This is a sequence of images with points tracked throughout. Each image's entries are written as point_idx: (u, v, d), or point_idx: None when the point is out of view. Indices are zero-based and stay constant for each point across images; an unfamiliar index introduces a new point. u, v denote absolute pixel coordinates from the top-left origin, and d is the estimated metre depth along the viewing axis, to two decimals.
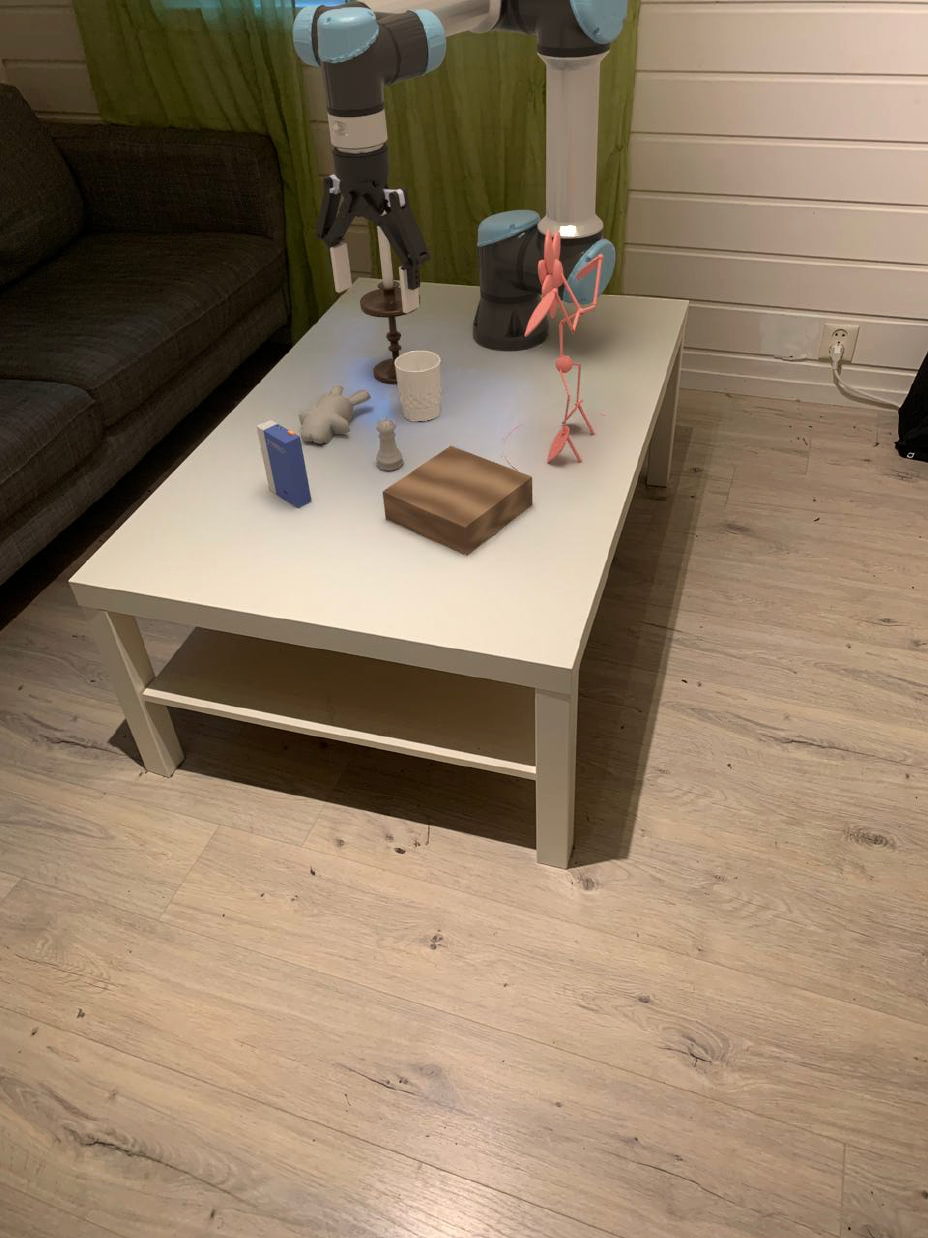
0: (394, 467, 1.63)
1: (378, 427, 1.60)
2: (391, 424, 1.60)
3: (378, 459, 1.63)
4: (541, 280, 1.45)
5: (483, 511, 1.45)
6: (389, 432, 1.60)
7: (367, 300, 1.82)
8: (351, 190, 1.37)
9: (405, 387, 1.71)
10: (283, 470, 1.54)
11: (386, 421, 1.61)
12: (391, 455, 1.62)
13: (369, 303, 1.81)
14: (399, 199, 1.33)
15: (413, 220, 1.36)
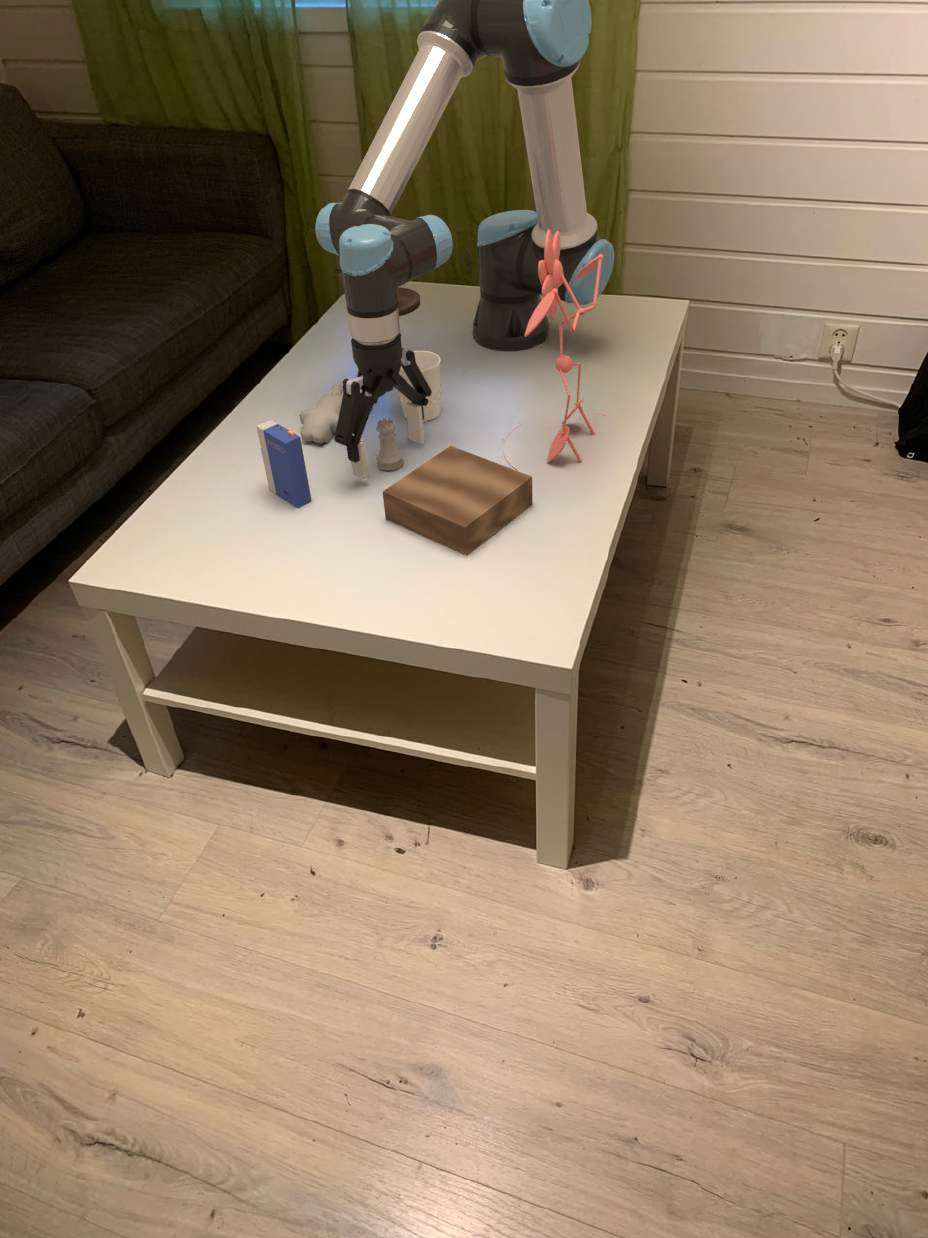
0: (394, 467, 1.63)
1: (378, 427, 1.60)
2: (391, 424, 1.60)
3: (378, 459, 1.63)
4: (541, 280, 1.45)
5: (483, 511, 1.45)
6: (389, 431, 1.60)
7: None
8: None
9: None
10: (283, 470, 1.54)
11: (386, 421, 1.61)
12: (391, 455, 1.62)
13: None
14: (345, 387, 1.51)
15: (349, 410, 1.51)
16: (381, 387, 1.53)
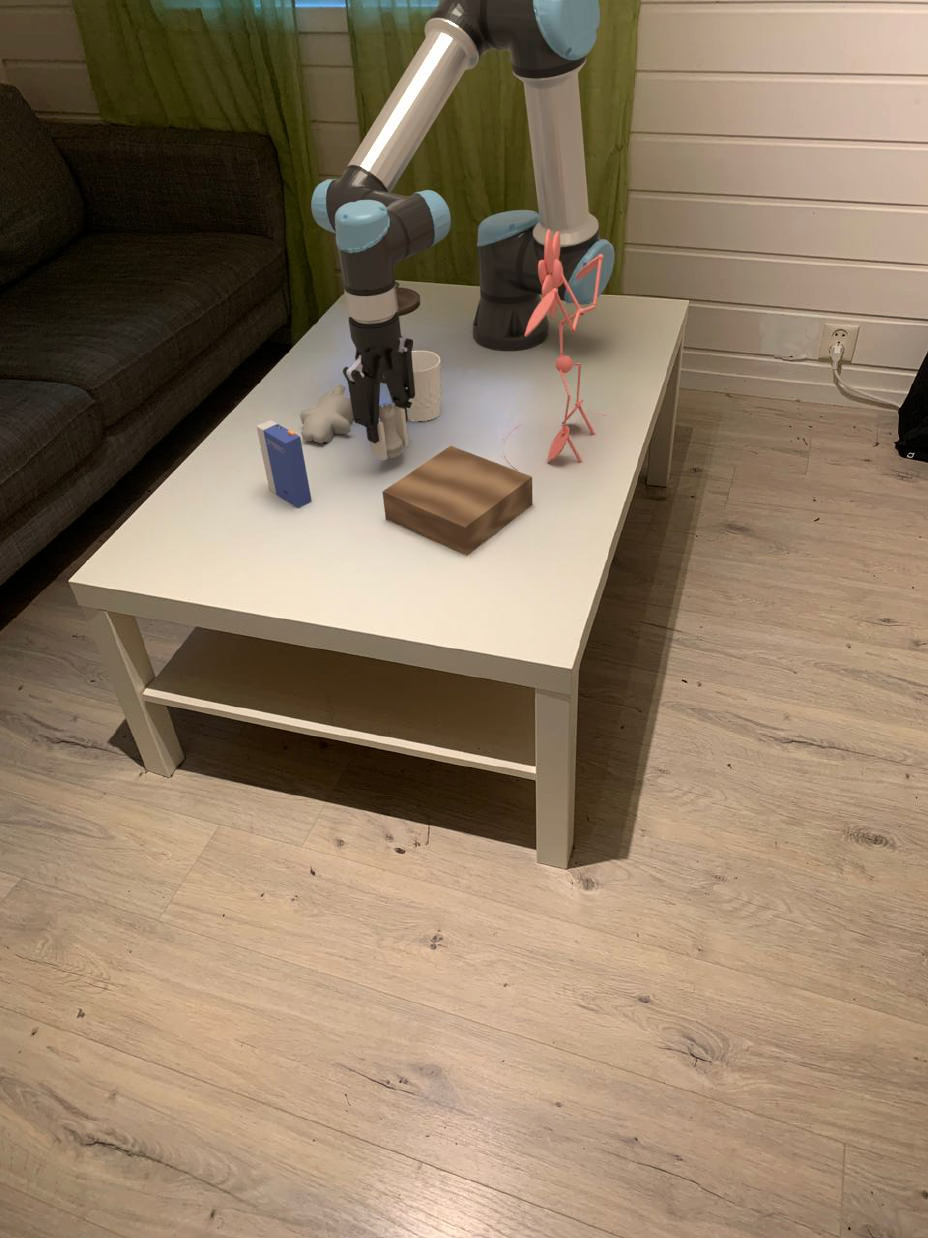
0: (394, 453, 1.62)
1: None
2: (391, 410, 1.58)
3: None
4: (541, 280, 1.45)
5: (483, 511, 1.45)
6: (389, 417, 1.58)
7: None
8: None
9: None
10: (283, 470, 1.54)
11: (386, 407, 1.59)
12: (391, 441, 1.61)
13: None
14: (347, 376, 1.50)
15: (358, 396, 1.52)
16: (382, 366, 1.52)
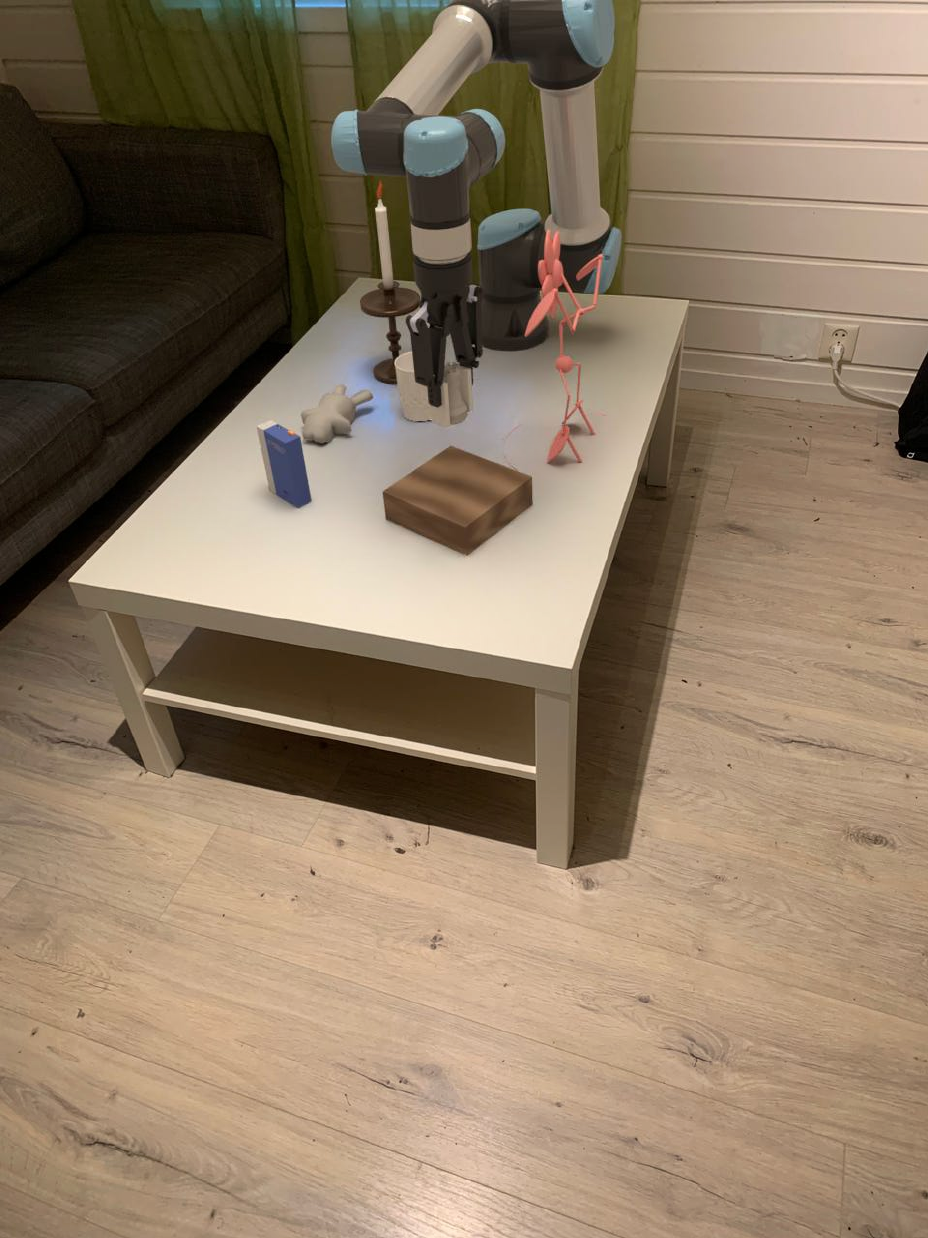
0: (458, 420, 1.41)
1: None
2: (456, 369, 1.38)
3: None
4: (541, 280, 1.45)
5: (483, 511, 1.45)
6: (454, 377, 1.38)
7: (367, 300, 1.82)
8: None
9: (405, 387, 1.71)
10: (283, 470, 1.54)
11: (450, 366, 1.39)
12: (454, 405, 1.41)
13: (369, 303, 1.81)
14: (410, 326, 1.30)
15: (422, 350, 1.31)
16: (450, 316, 1.31)
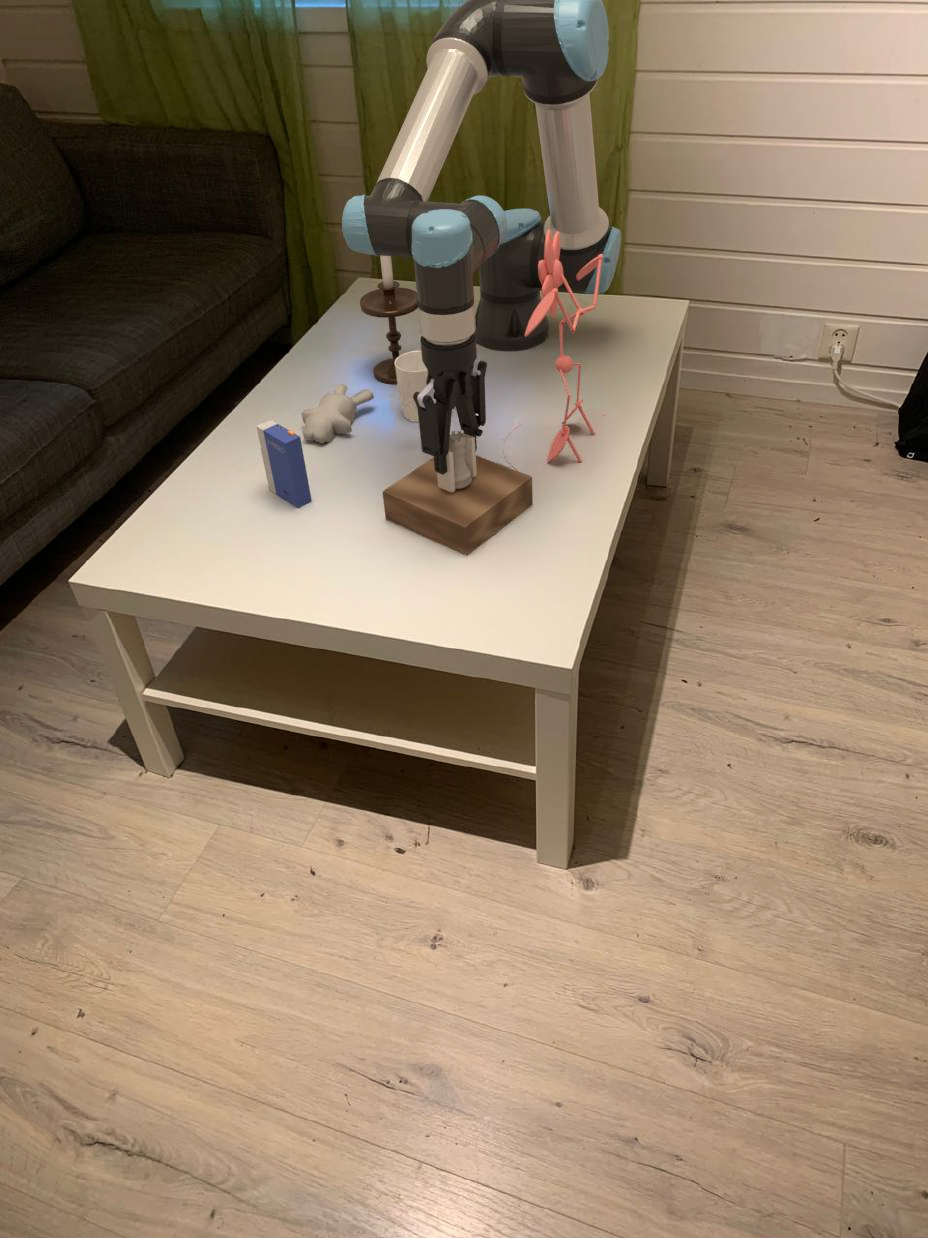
0: (462, 485, 1.49)
1: None
2: (461, 438, 1.45)
3: None
4: (541, 280, 1.45)
5: (483, 511, 1.45)
6: (459, 446, 1.45)
7: (367, 300, 1.82)
8: None
9: (405, 387, 1.71)
10: (283, 470, 1.54)
11: (455, 435, 1.46)
12: (459, 471, 1.48)
13: (369, 303, 1.81)
14: (418, 402, 1.37)
15: (429, 423, 1.38)
16: (455, 391, 1.38)
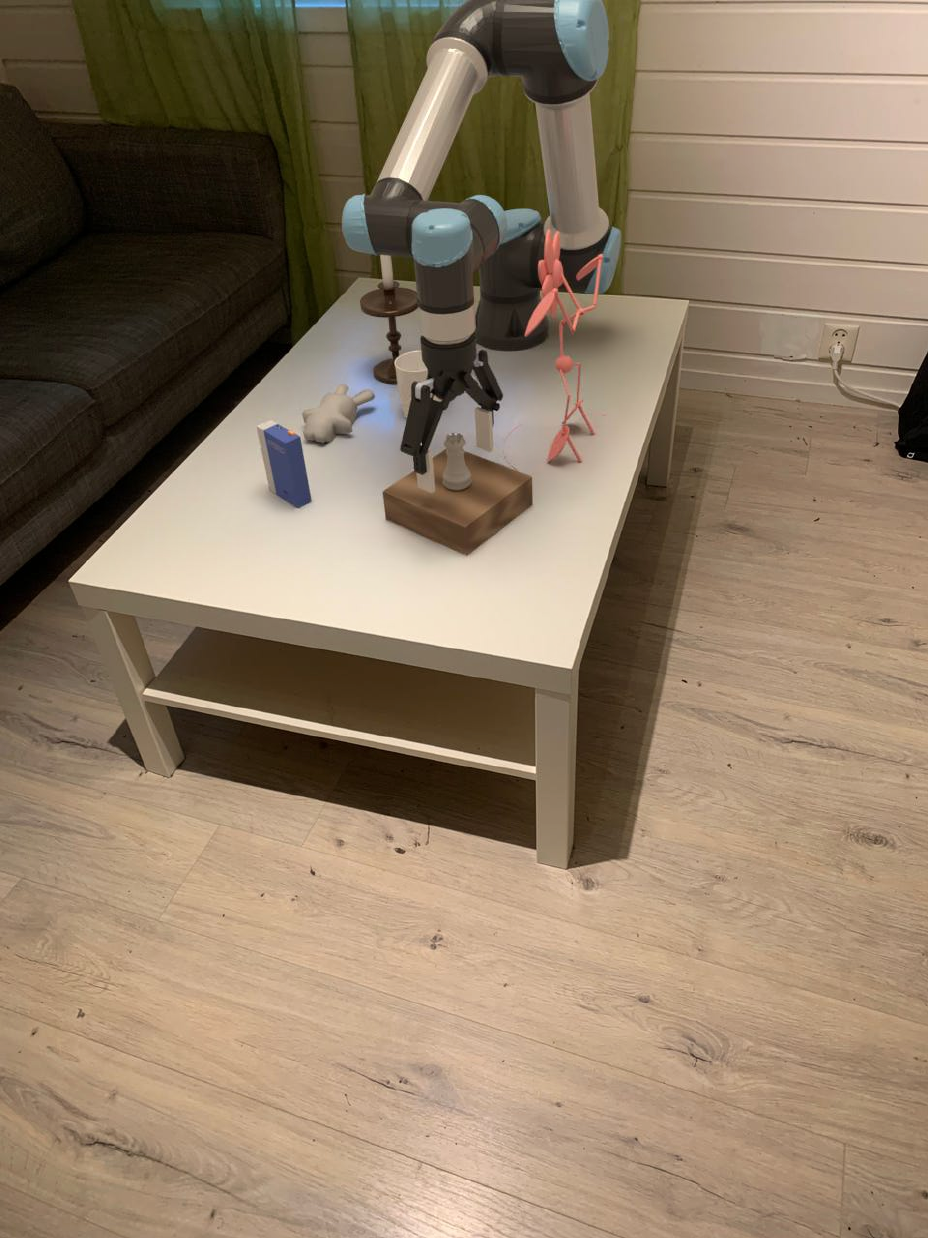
0: (462, 487, 1.49)
1: (446, 443, 1.45)
2: (461, 440, 1.45)
3: (445, 478, 1.49)
4: (541, 280, 1.45)
5: (483, 511, 1.45)
6: (458, 448, 1.45)
7: (367, 300, 1.82)
8: None
9: (405, 387, 1.71)
10: (283, 470, 1.54)
11: (455, 436, 1.46)
12: (459, 473, 1.48)
13: (369, 303, 1.81)
14: (414, 391, 1.35)
15: (418, 416, 1.36)
16: (452, 391, 1.38)
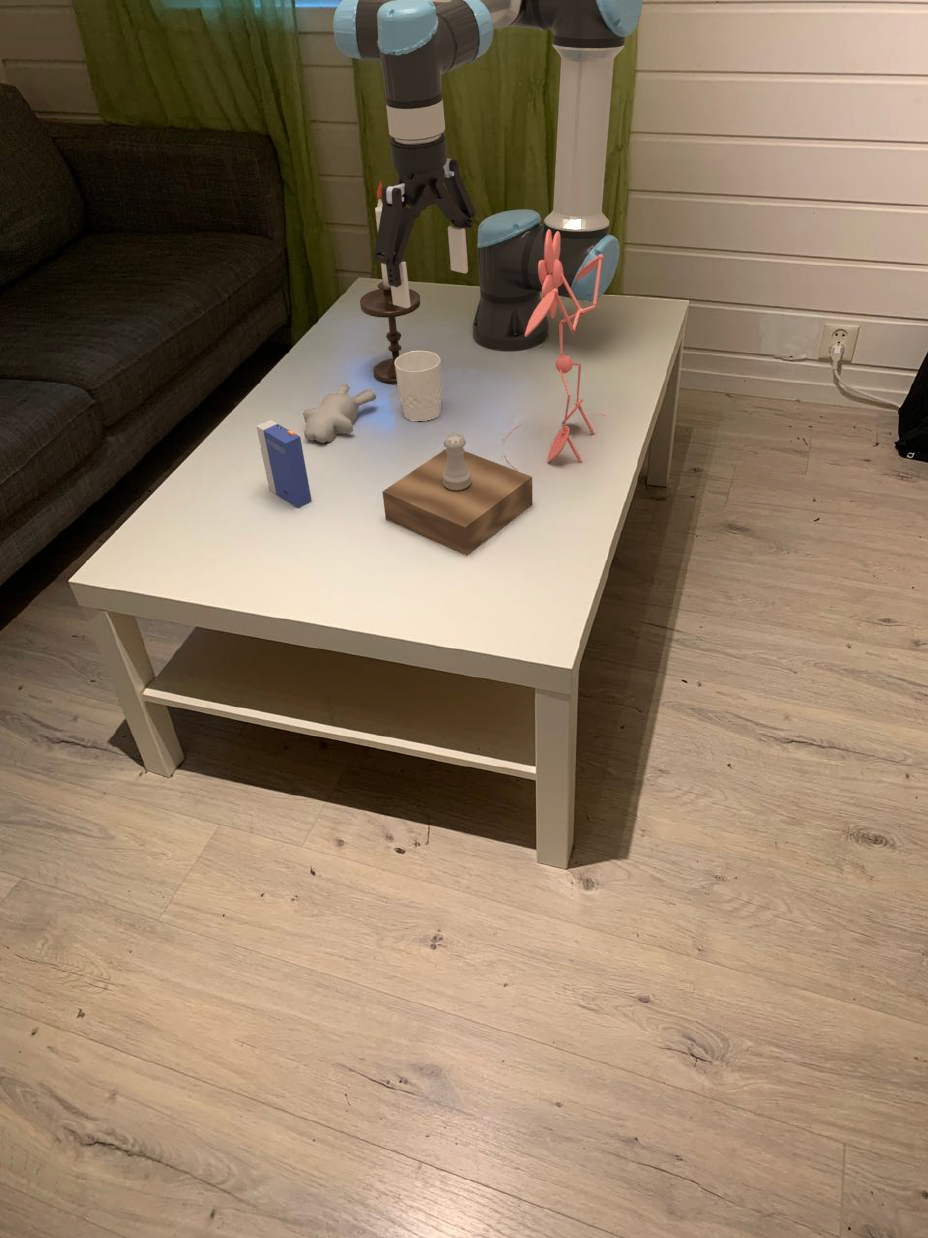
0: (462, 487, 1.49)
1: (446, 443, 1.45)
2: (461, 440, 1.45)
3: (445, 478, 1.49)
4: (541, 280, 1.45)
5: (483, 511, 1.45)
6: (458, 448, 1.45)
7: (367, 300, 1.82)
8: None
9: (405, 387, 1.71)
10: (283, 470, 1.54)
11: (455, 436, 1.46)
12: (459, 473, 1.48)
13: (369, 303, 1.81)
14: (385, 195, 1.35)
15: (391, 221, 1.35)
16: (424, 197, 1.37)
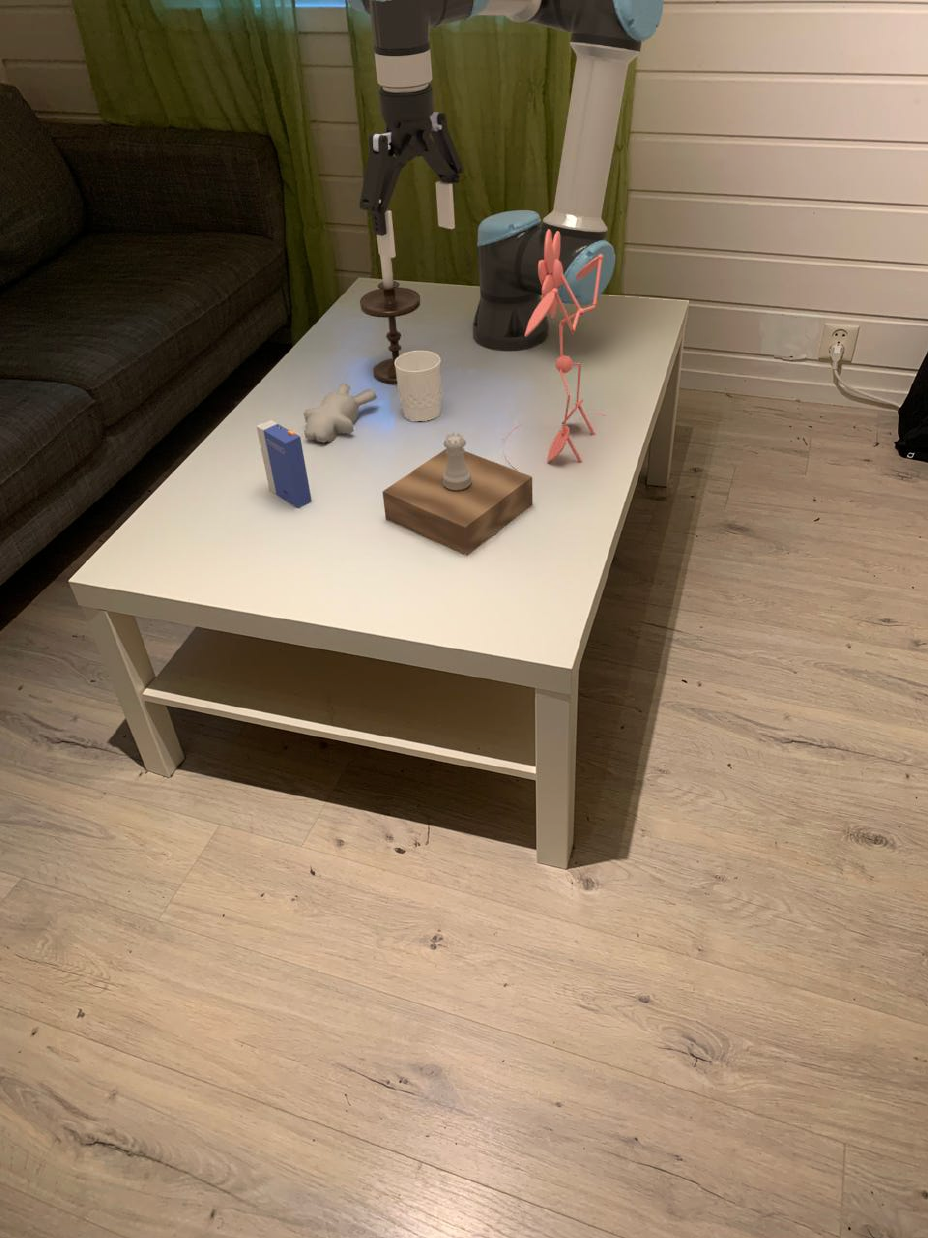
0: (462, 487, 1.49)
1: (446, 443, 1.45)
2: (461, 440, 1.45)
3: (445, 478, 1.49)
4: (541, 280, 1.45)
5: (483, 511, 1.45)
6: (458, 448, 1.45)
7: (367, 300, 1.82)
8: None
9: (405, 387, 1.71)
10: (283, 470, 1.54)
11: (455, 436, 1.46)
12: (459, 473, 1.48)
13: (369, 303, 1.81)
14: (372, 142, 1.38)
15: (377, 168, 1.38)
16: (411, 147, 1.40)
